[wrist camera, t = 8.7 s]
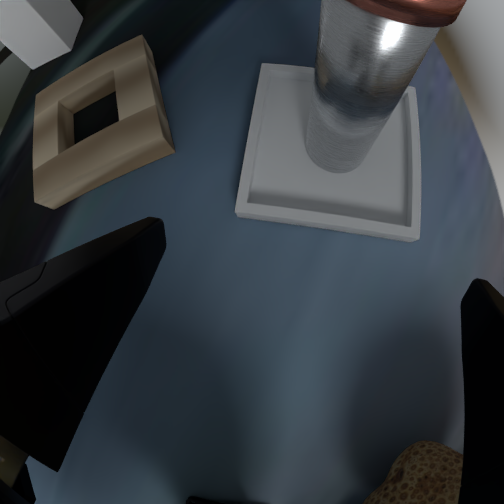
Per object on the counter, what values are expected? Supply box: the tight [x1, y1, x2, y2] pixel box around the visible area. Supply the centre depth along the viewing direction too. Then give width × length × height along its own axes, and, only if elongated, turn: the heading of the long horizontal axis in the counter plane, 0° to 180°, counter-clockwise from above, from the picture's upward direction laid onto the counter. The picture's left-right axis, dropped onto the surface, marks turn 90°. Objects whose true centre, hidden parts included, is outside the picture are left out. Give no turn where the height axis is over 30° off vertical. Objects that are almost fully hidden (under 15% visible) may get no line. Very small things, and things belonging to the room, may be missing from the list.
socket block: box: [33, 35, 175, 209], centre depth 21 cm, size 11×11×2 cm
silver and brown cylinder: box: [305, 0, 466, 173], centre depth 12 cm, size 5×5×14 cm
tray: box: [235, 63, 421, 243], centre depth 19 cm, size 11×11×2 cm
